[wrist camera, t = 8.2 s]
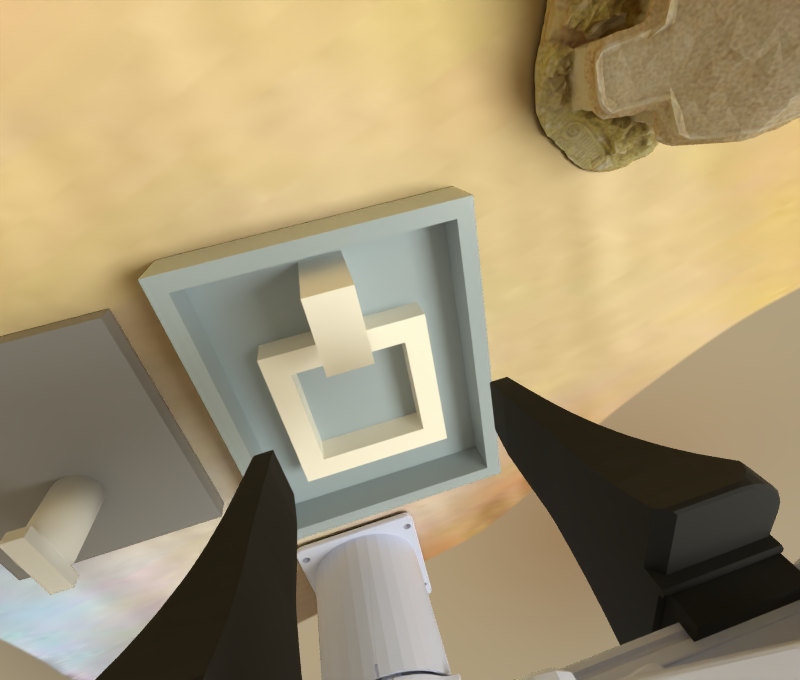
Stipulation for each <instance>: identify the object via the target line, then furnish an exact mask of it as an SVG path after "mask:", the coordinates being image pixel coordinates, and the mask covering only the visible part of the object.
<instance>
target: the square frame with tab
mask: <svg viewBox="0 0 800 680" xmlns="http://www.w3.org/2000/svg"><path fill="white" fill-rule="evenodd" d="M298 271H299V285H300V299H301V302H302V305H303V308H304V311H305V314H306V317H307V320H308V323H309V326H310V329H311V331H310V332H306V333H302V334H299V335H295V336H291V337H288V338H284V339H281V340H277V341H273V342H270V343H266V344H262V345H259V348H258V356H257V362H258V365H259V367H260V369H261V372H262V374H263V376H264V379H265V381H266V383H267V386H268V388H269V391H270V393H271V395H272V398H273V400H274V402H275V405H276V407H277V409H278V412H279V414H280V416H281V419H282V421H283V423H284V426H285V428H286V430H287V433H288V435H289V437H290V440H291V442H292V444H293V447H294V449H295V451H296V454H297V456H298V459H299V461H300V463H301V466H302V468H303V470H304V473H305V475H306V477H307V480H308V482H310V481H313V480H316V479H319V478H322V477H326V476H329V475H332V474H335V473H338V472H341V471H345V470H348V469H351V468H354V467H357V466H360V465H364V464H367V463H370V462H373V461H376V460H380V459H383V458H386V457H389V456H392V455H395V454H399V453H402V452H405V451H408V450H411V449H415V448H418V447H421V446H424V445H427V444H430V443H434V442H437V441H440V440H443V439H446V438H447V435H446V429H445V424H444V418H443V413H442V407H441V401H440V396H439V390H438V385H437V379H436V373H435V368H434V362H433V357H432V351H431V345H430V340H429V334H428V329H427V323H426V317H425V313H424V312H423V310H422V309H421V308H420V306H419V305H418V303H417V302H415V303H411V304H407V305H404V306H400V307H397V308H393V309H389V310H386V311H382V312H378V313H375V314H371V315H368V316H364V317H363V316H362V312H361V308H360V304H359V300H358V297H357V293H356V289H355V285H354V282H353V280H352V277H351V275H350V272H349V270H348V267H347V265H346V262H345V260H344V257H343V254H342V252H341V251H338V252H334V253H330V254H326V255H322V256H318V257H314V258H310V259H307V260H303V261H299V262H298ZM398 344H402V348H403V353H404V357H405V362H406V367H407V371H408V376H409V380H410V385H411V390H412V394H413V399H414V403H415V408H416V413H412V414H409V415H406V416H403V417H399V418H396V419H393V420H389V421H386V422H383V423H380V424H376V425H373V426H370V427H367V428H363V429H360V430H357V431H353V432H350V433H347V434H344V435H340V436H337V437H334V438H330V439H327V440H324V441H322V440H321V437H320V435H319V432H318V429H317V427H316V424H315V421H314V419H313V416H312V413H311V411H310V408H309V406H308V403H307V400H306V398H305V395H304V392H303V390H302V387H301V384H300V382H299V379H298V376H297V374H296V373H300V372H303V371H307V370H310V369H314V368H317V367H321V366H323V368H324V370H325V373H326V376H327V377H330V376H334V375H337V374H341V373H344V372H348V371H351V370H354V369H358V368H361V367H365V366H368V365H372V364H375V362H374V358H373V354H372V352H373V351H377V350H380V349H384V348H387V347H391V346H394V345H398Z"/></svg>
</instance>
